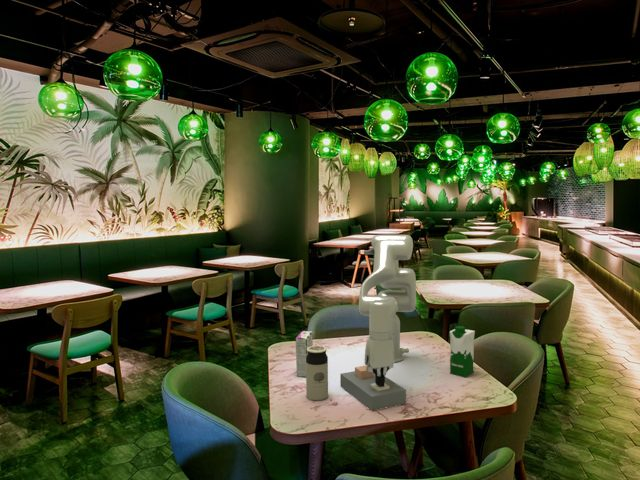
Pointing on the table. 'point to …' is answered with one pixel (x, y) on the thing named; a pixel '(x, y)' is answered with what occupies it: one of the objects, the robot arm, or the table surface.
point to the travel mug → (316, 373)
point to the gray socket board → (372, 391)
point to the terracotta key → (363, 372)
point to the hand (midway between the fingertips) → (380, 385)
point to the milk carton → (461, 351)
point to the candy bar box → (302, 351)
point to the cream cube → (380, 387)
